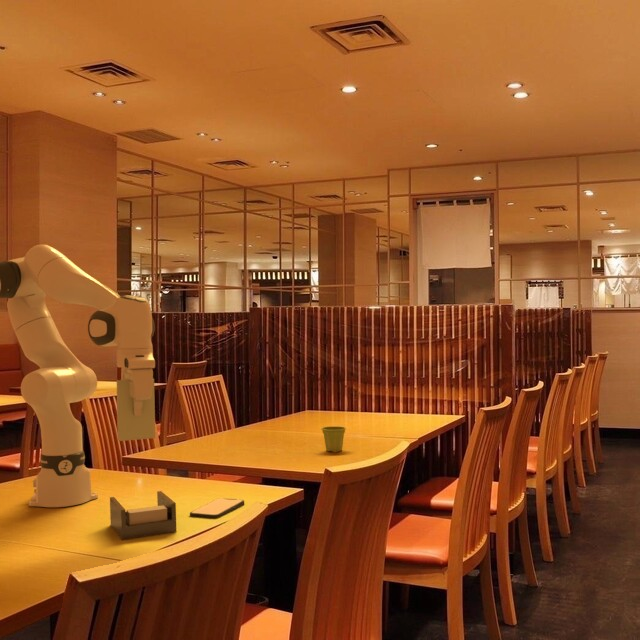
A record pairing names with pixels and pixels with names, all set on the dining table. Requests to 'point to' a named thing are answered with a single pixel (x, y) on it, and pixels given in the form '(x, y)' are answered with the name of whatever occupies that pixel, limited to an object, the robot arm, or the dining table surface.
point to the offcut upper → (146, 515)
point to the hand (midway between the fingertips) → (136, 414)
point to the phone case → (217, 508)
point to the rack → (143, 529)
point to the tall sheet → (127, 421)
